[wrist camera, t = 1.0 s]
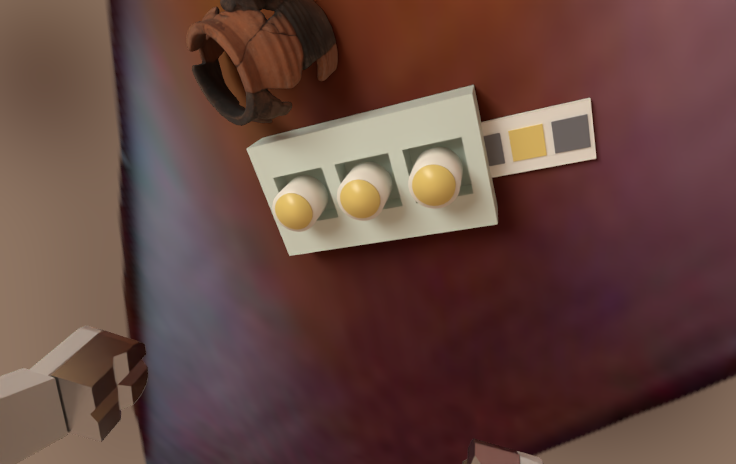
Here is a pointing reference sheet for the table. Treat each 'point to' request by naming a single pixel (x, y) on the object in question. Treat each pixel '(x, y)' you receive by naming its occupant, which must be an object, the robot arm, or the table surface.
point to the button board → (393, 152)
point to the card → (540, 138)
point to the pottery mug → (261, 53)
